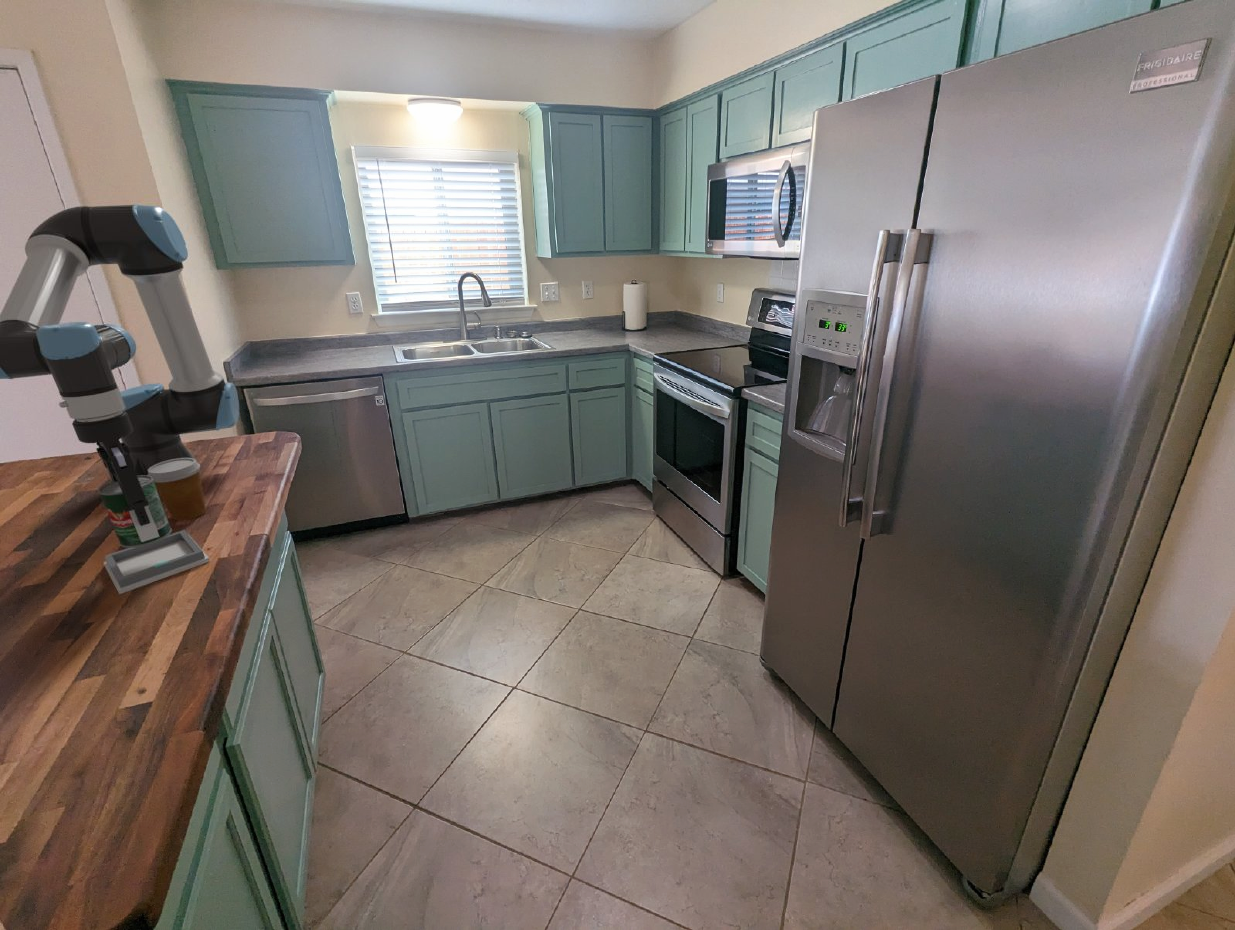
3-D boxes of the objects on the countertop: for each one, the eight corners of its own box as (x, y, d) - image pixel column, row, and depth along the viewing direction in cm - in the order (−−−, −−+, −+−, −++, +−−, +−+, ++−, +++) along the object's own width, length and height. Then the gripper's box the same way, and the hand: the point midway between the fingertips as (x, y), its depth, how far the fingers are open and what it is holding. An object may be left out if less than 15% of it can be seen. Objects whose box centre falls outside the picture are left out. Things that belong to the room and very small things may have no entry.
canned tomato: (115, 552, 105) (92, 497, 101) (125, 533, 112) (103, 481, 107) (168, 540, 108) (148, 487, 104) (175, 523, 115) (156, 471, 111)
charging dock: (104, 566, 112) (100, 555, 111) (190, 537, 122) (186, 527, 121) (119, 594, 103) (114, 582, 102) (210, 561, 113) (206, 550, 112)
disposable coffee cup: (189, 525, 127) (171, 475, 122) (152, 522, 128) (133, 472, 124) (224, 505, 135) (208, 457, 130) (190, 503, 137) (173, 455, 132)
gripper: (62, 409, 105) (109, 521, 114) (80, 433, 92) (132, 558, 101) (114, 399, 110) (155, 508, 119) (139, 421, 97) (183, 541, 106)
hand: (144, 531), depth 110 cm, fingers closed on canned tomato, 8 cm apart
